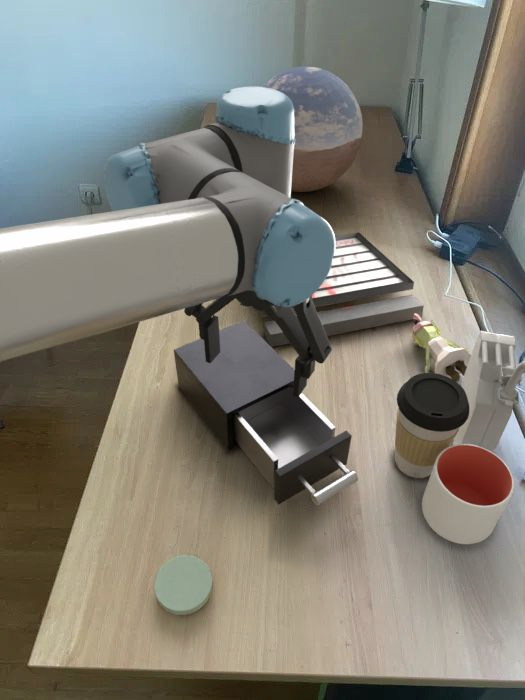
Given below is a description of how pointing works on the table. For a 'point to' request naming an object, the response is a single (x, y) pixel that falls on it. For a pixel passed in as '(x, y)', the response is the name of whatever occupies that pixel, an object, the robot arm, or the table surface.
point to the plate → (183, 585)
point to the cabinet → (230, 377)
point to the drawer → (293, 446)
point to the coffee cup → (427, 421)
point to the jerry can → (490, 390)
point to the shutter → (357, 291)
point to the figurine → (440, 350)
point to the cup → (466, 493)
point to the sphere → (320, 125)
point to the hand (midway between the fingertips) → (255, 373)
